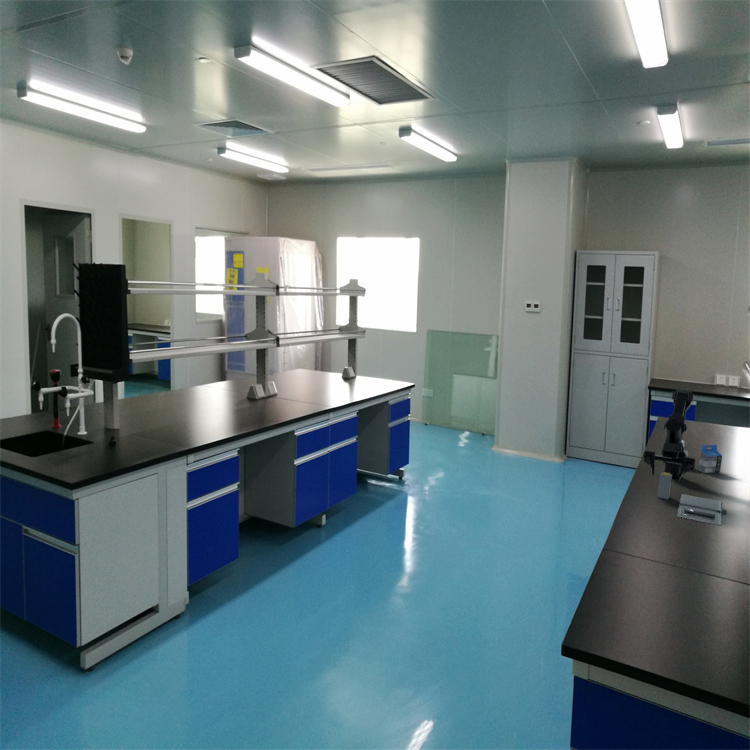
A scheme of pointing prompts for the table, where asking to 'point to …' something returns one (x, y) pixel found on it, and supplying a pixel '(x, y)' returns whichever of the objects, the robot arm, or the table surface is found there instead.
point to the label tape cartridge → (710, 459)
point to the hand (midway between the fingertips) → (665, 478)
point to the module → (664, 485)
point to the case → (700, 509)
